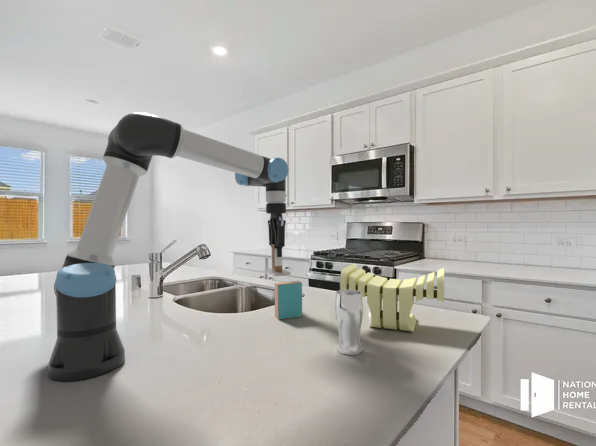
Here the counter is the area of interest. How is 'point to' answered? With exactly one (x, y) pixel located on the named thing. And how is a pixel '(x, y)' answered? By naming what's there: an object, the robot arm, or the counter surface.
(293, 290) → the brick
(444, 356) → the counter surface
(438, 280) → the slatted curved stool
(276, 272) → the trowel
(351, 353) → the beer glass
